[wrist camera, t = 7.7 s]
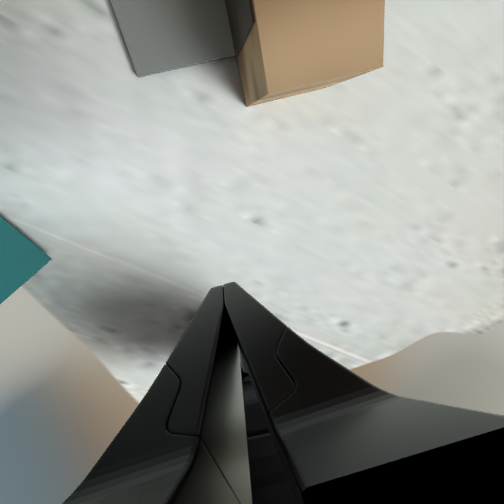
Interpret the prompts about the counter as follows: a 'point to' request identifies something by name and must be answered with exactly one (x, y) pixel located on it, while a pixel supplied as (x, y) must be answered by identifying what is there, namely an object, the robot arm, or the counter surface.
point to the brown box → (303, 44)
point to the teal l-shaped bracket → (17, 259)
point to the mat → (173, 33)
